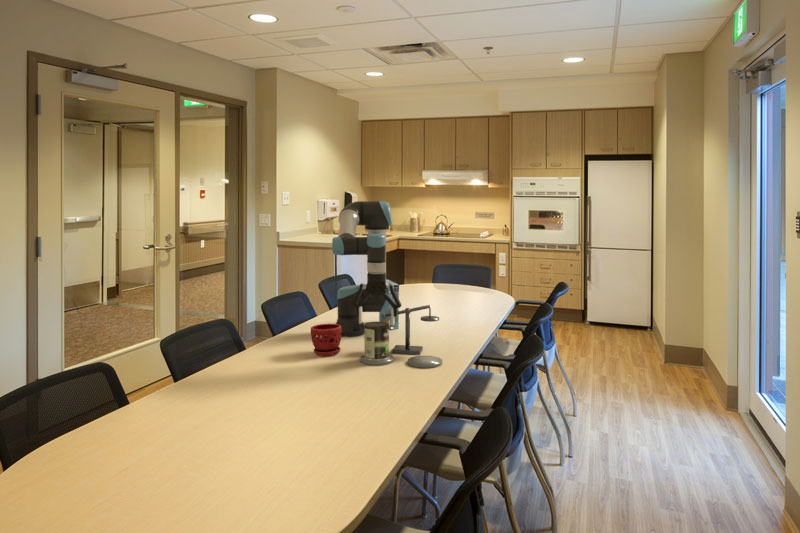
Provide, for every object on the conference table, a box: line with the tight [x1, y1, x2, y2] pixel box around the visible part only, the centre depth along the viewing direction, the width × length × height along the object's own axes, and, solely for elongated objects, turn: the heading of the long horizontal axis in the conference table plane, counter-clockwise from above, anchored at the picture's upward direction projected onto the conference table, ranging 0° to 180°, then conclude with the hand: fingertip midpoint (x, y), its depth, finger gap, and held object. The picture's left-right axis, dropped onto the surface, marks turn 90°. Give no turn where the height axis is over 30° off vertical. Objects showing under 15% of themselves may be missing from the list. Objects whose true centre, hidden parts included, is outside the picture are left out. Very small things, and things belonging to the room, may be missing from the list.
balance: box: [381, 304, 440, 356], centre depth 253 cm, size 27×8×21 cm, turn 79°
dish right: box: [407, 355, 443, 369], centre depth 237 cm, size 14×14×1 cm
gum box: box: [378, 278, 400, 330], centre depth 304 cm, size 20×5×23 cm, turn 18°
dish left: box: [359, 354, 395, 367], centre depth 241 cm, size 14×14×1 cm
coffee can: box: [363, 321, 390, 361], centre depth 240 cm, size 10×10×14 cm
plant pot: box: [310, 323, 342, 357], centre depth 251 cm, size 13×13×12 cm
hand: (376, 323), depth 239 cm, fingers open, 13 cm apart
